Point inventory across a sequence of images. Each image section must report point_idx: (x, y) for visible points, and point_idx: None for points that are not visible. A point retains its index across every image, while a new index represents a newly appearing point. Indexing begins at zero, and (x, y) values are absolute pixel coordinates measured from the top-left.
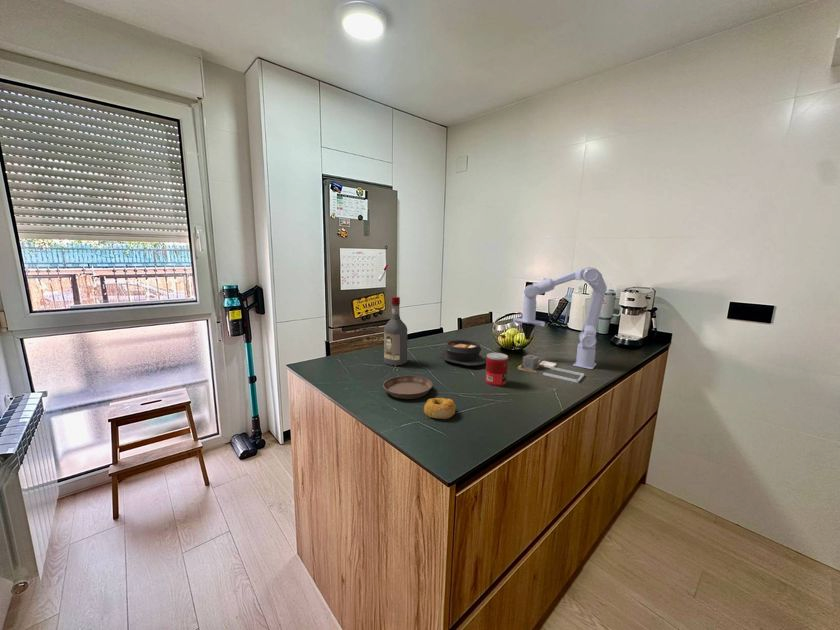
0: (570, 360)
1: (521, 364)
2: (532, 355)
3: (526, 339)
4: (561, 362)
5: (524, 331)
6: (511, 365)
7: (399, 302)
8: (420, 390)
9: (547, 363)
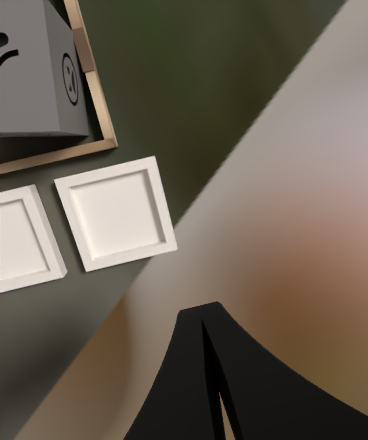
0: (3, 434)
1: (82, 31)
2: (19, 129)
3: (200, 305)
4: (4, 364)
5: (275, 378)
6: (159, 5)
7: None
8: None
9: (28, 268)
